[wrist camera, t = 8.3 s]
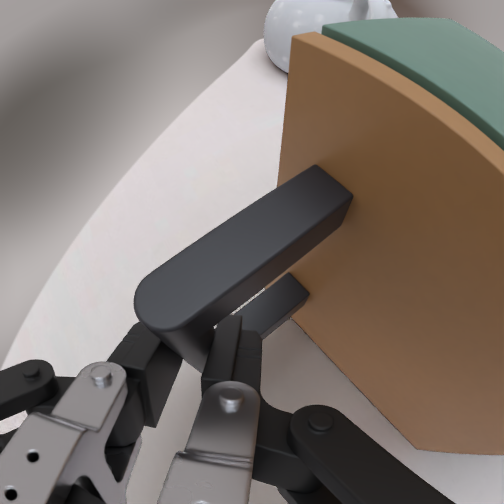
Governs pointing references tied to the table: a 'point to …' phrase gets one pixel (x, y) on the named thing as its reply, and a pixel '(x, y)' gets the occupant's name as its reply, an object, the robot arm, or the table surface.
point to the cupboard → (436, 63)
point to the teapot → (313, 21)
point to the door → (365, 251)
